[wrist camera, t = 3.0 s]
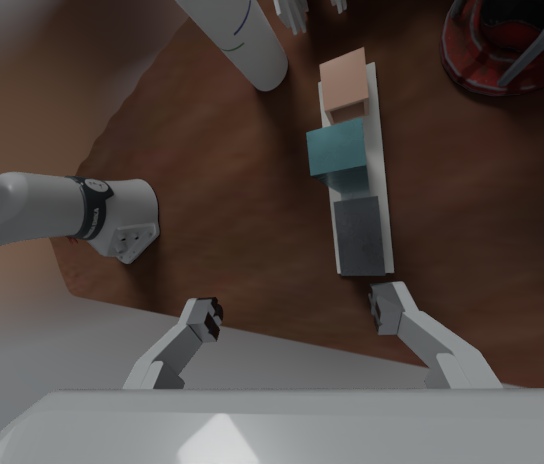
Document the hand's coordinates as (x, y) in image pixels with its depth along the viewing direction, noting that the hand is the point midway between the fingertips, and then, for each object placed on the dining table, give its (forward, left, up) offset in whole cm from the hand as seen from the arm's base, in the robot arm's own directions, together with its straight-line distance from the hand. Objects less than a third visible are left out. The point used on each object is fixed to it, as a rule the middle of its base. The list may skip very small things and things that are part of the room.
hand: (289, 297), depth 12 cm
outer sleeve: (+3, -1, -25) cm, 25 cm away
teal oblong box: (+5, +2, -24) cm, 25 cm away
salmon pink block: (+15, +15, -25) cm, 33 cm away
